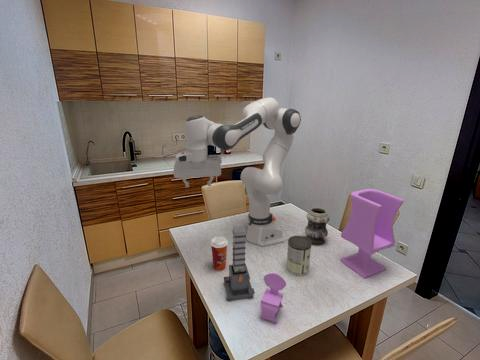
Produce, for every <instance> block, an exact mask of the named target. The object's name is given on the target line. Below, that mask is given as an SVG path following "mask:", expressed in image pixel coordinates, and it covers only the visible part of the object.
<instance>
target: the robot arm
mask: <svg viewBox="0 0 480 360" xmlns="http://www.w3.org/2000/svg"><path fill="white" fill-rule="evenodd" d="M301 117H302V116H301V113H300V112H299V111H298V110H297V109H293V108H284V107H281V108H280V105H279V102H278V101H277V100H276V98H274V97H264V98H260V99H257V100H255V101H252V102H249V104H247V105H246V106H245V107H243V110H242V120H240V121H238V122H236V123H235V124H223V123H217V122H214V121H212V120H209V119H208V118H206V117H205V116H204V115H199V114H198V115H193V116H189V117H188V118H186V120H185V125H184V135H185V136H184V138H185V141H186V146H185V151H182V152H178V153H177V154H176V155H175V162H174V165H173V177H174V178H175V179H182V182H183V183H184V184H185V188H190V182H189V181H187V178H205V177H206V178H208V177H209V180H207V187H211V186H212V181H213V180H214V177H220V176H221V175H222V167H221V164H222V163H223V161H222V160H223V159H222V156H220V155H219V154H208V146H213V147H216V148H219V149H220V150H222V151H230V150H232V149H234V148H235V146H237V144H238V143H239V142H240V141H241V140H242V139H243V138H245V137H246V136H249V135H250V133H252V132H254V131H255V130H257V129H258V128H259V127H261V126H262V125H263V127H264V128H266V129H267V130H268V129H269V130H274V135H273V137H272V138H271V140H270V141H269V142H268V145H267V147H266V148H265V149H264V152H263V153H262V161H263V162H264V164H263V168H262V169H261V168H259V167H256V166H248V167H245V168H243V170H242V171H241V173H240V181H241V182H242V184H243V185H244V187H245V190H246V194H247V197H248V202H249V203H248V204H249V205H248V206H249V207H248V211H249V213H248V215H247V223H248V227H247V230H246V233H245V235H246V237H245V240H247V241H248V242H249V243H251V244H255V245H257V246H260V247H266V246H272V245H275V244H281V243H285V242H287V240H288V239H287V234H286V233H285V232H284V230H283V228H282V226H281V225H280V224H279V222H277V221H276V220H277V218H276V217H275V216H274V215H273V213H271V201H270V199H269V197H268V195H271V196H272V195H273V196H276V195H277V194H279V193H280V192H281V190H282V189H283V179H282V177H281V169H282V165H283V162H284V161H285V159H286V157H287V155H288V153H289V151H290V150H291V148H292V147H291V146H292V145H293V141H294V139H295V136H294V134H295V133H296V131H298V128H299V126H300V124H301V121H302V118H301Z"/></svg>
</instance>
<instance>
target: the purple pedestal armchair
mask: <svg viewBox="0 0 480 360" xmlns="http://www.w3.org/2000/svg"><path fill="white" fill-rule="evenodd" d="M350 199H351V209H350V215H349V217H348V218H349V219H348V221H347V223H346V225H345V227H344V228H343V230H342V231H341V233H340V237H341V238H342V239H343V240H345V241H347V242H349V243H352V244H353V245H355V246H356V247H358V251H357V252H356V253H353V254H350V255H347V256H345V257H342V258H341V257H340V260H339V261H340V262H341V263H343V264H344V265H345V266H347V267H348V268H349V269H351V270H352V271H353V272H355V273H356V274H358V275H359V276H360V277H361V278H363V279H367V278H369V277H371V276H373V275H377V274H378V273H381V272H384V271H386V267H385V266H384V265H382V264H381V263H379V262H378V261H376V260H374V259H372V258H371V256H372V255H373V254H376V253H378V252H379V251H382V250H386V249H391V248H393V247H395V245H396V239H395V234H394V221H395V219H396V215H397V214H398V211H399V210H400V208H401V207H402V205H403V204H404V202H405V199H404V198H402V197H401V198H400V197H399V196H395V195H393V194H390V193H387V192H384V191H382V190H379V189H375V188H366V189H360V190H356V191H351V192H350Z"/></svg>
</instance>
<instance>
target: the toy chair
mask: <svg viewBox="0 0 480 360" xmlns="http://www.w3.org/2000/svg"><path fill="white" fill-rule="evenodd" d="M263 282H264V284H265V285H266V287H267V288H265V291H264V293H263V295H262V297H261V299H260V303H259V304H260V308H261V315H260V316H259V318H261V319H264V320H267V321H268V322H272V323H275V324H277V323H278V321H277V319H276V315H277V312H278V311H279V308H280V307H281V308H283V307H284V306H283V304H282V300H283V298H284V293H283V292H279V291H282V290H284V289H285V288H286V286H287V281H286V280H285V278H283V276H282V275H280V274H279V273H277V272H270V273H267V274H265V275H264V276H263Z"/></svg>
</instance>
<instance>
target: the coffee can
mask: <svg viewBox="0 0 480 360" xmlns="http://www.w3.org/2000/svg"><path fill="white" fill-rule="evenodd" d="M306 237H307V236H302V235H293V236H290V237H289V238H288V239H287V253H286V265H285V266H286V268H285V269H286V270H287V271H288V272H289V273H290V274H292V275H294V276H299V277H300V276H301V277H302V276H305V275H307V274H308V273H309V271H310V261H311V251H312V245H313V244H312V242H311V241H310V240H309V239H308V238H306Z"/></svg>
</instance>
